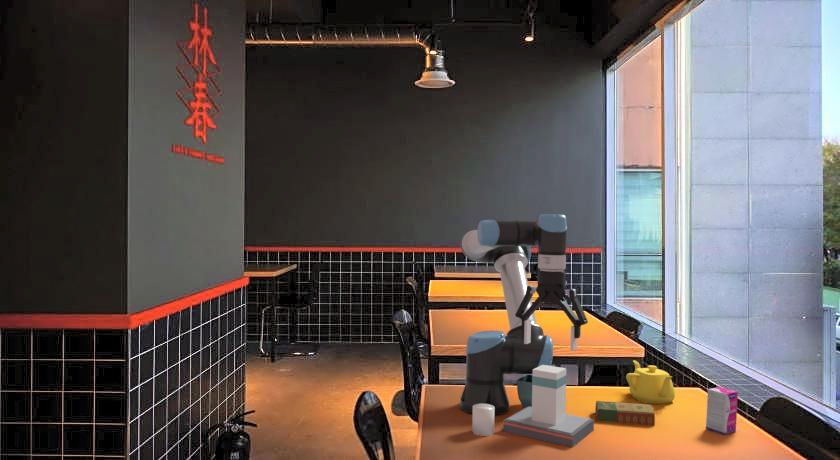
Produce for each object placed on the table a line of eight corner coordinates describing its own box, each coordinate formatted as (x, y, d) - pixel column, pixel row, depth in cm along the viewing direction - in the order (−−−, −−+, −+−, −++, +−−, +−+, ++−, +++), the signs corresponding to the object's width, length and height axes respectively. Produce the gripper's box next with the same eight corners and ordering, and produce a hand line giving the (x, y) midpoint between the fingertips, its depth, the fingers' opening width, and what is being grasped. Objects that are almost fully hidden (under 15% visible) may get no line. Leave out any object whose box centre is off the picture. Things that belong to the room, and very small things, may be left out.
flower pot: (542, 413, 187) (542, 384, 187) (515, 408, 192) (515, 379, 191) (552, 406, 194) (553, 378, 194) (526, 401, 199) (526, 373, 199)
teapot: (609, 390, 214) (609, 359, 214) (649, 388, 217) (650, 357, 217) (645, 410, 192) (645, 375, 192) (689, 407, 195) (690, 373, 195)
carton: (654, 427, 178) (655, 412, 177) (596, 422, 181) (596, 407, 181) (650, 417, 186) (651, 403, 186) (595, 413, 189) (595, 399, 189)
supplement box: (725, 435, 171) (726, 393, 170) (705, 428, 176) (706, 388, 175) (737, 431, 174) (738, 391, 174) (717, 425, 179) (718, 385, 179)
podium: (502, 431, 171) (502, 419, 171) (527, 416, 184) (527, 405, 184) (572, 447, 160) (572, 434, 160) (593, 430, 173) (593, 418, 173)
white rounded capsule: (468, 433, 170) (468, 407, 169) (478, 427, 174) (479, 402, 174) (487, 437, 166) (488, 411, 166) (498, 431, 171) (498, 406, 171)
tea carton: (531, 420, 171) (532, 369, 171) (541, 413, 177) (542, 364, 176) (555, 425, 167) (556, 373, 167) (565, 418, 173) (566, 368, 172)
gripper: (504, 267, 175) (503, 342, 176) (591, 274, 161) (589, 355, 162) (516, 266, 182) (515, 338, 182) (600, 272, 167) (598, 350, 168)
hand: (549, 346), depth 172 cm, fingers open, 13 cm apart
